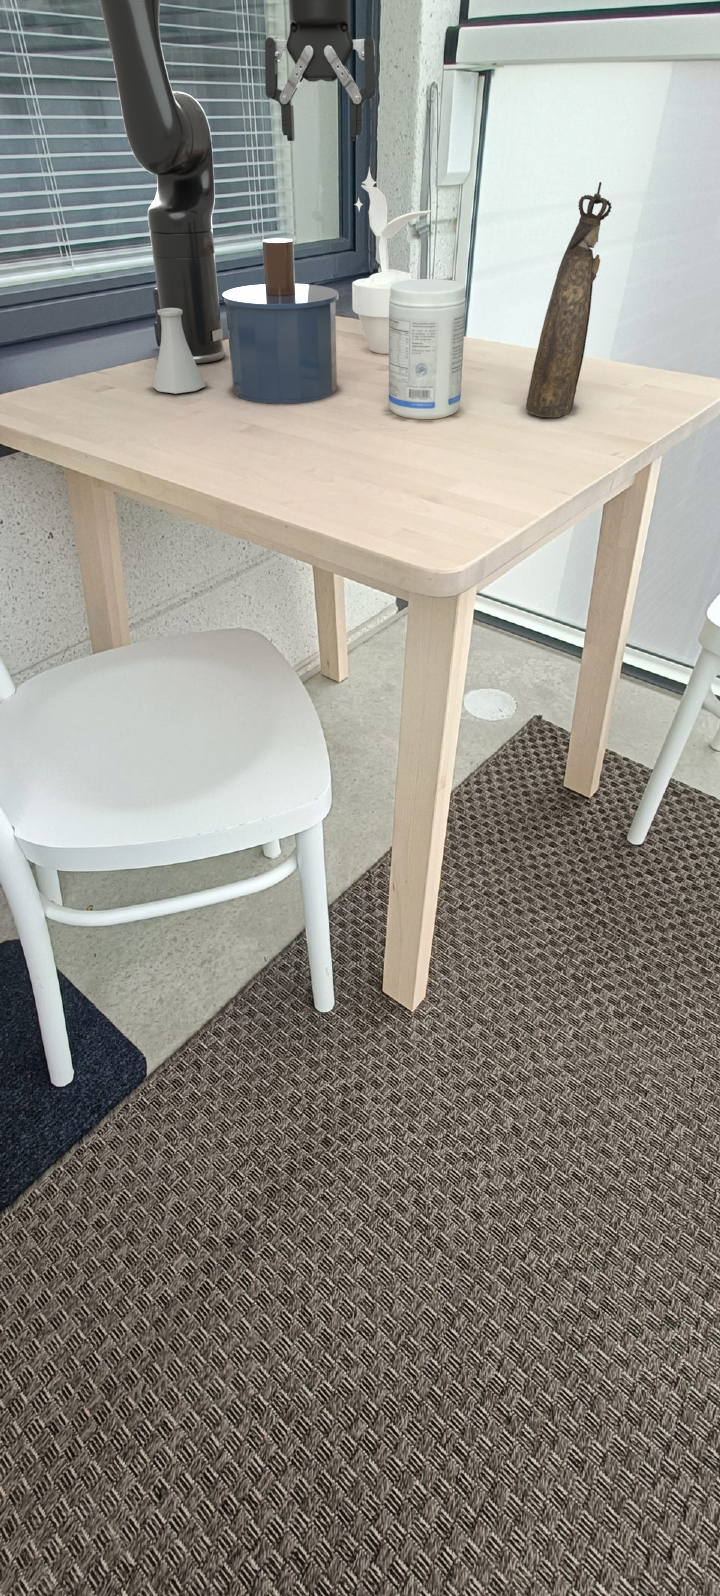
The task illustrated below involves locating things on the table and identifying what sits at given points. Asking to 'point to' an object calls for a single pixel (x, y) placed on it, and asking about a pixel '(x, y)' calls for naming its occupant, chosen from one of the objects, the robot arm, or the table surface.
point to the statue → (567, 319)
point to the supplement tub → (426, 347)
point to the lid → (279, 283)
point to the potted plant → (375, 290)
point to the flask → (175, 357)
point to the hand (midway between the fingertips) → (322, 140)
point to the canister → (283, 353)
